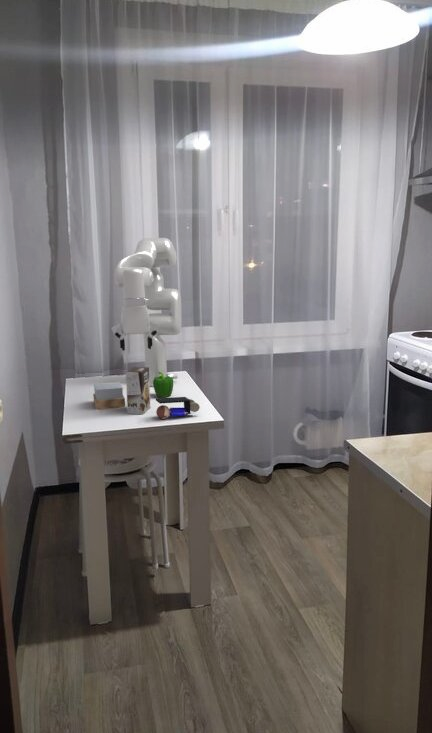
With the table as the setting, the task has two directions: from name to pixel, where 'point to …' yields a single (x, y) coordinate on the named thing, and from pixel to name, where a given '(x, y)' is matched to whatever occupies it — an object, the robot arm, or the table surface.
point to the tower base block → (109, 403)
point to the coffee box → (138, 390)
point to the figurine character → (165, 411)
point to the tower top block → (108, 391)
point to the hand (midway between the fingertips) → (136, 349)
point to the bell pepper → (163, 385)
